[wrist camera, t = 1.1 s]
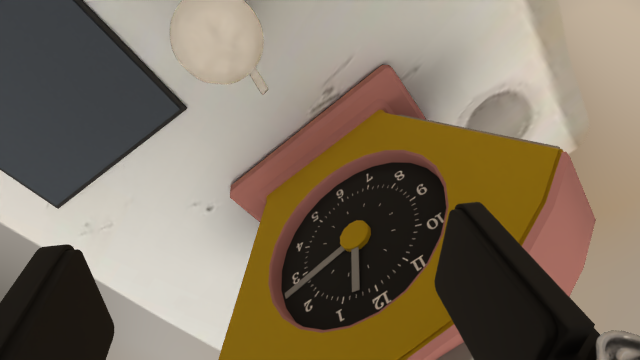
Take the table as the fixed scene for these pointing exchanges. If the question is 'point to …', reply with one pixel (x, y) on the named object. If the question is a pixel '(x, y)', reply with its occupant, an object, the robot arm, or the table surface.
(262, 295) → the clock
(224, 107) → the table surface
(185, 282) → the table surface
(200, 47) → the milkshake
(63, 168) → the mouse pad
